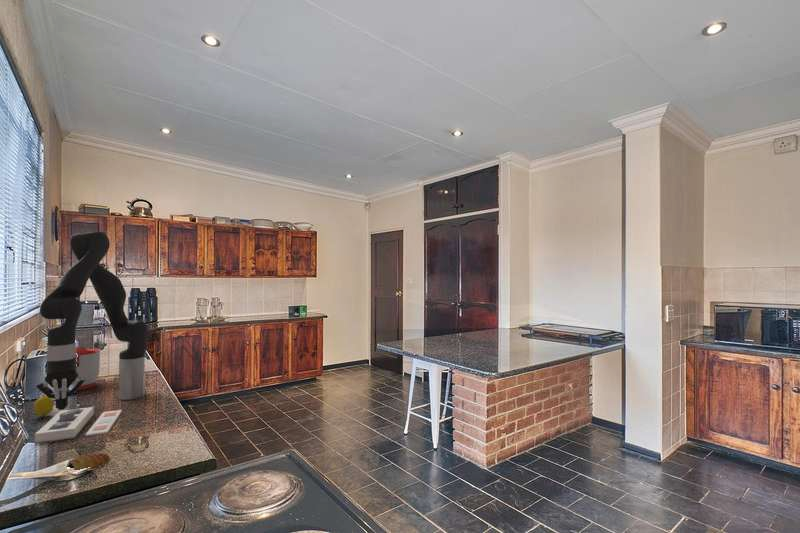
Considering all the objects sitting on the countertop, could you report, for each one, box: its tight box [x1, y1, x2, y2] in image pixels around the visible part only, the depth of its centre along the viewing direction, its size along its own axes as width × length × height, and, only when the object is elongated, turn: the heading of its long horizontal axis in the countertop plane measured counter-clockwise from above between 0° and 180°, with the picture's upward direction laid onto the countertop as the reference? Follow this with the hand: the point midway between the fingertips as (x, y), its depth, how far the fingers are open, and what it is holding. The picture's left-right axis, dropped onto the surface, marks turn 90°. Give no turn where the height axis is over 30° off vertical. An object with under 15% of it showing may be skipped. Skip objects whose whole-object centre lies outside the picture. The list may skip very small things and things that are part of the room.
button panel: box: [34, 406, 95, 444], centre depth 138 cm, size 10×23×3 cm, turn 25°
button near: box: [52, 422, 68, 430], centre depth 132 cm, size 4×4×3 cm
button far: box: [67, 408, 81, 414], centre depth 145 cm, size 4×4×3 cm
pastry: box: [65, 452, 110, 470], centre depth 111 cm, size 9×7×4 cm
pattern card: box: [85, 409, 123, 437], centre depth 143 cm, size 6×23×1 cm, turn 25°
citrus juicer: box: [76, 345, 101, 391], centre depth 184 cm, size 16×17×20 cm
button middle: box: [60, 411, 75, 422], centre depth 138 cm, size 4×4×3 cm
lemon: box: [33, 394, 55, 418], centre depth 149 cm, size 6×6×8 cm
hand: (61, 409), depth 132 cm, fingers closed
